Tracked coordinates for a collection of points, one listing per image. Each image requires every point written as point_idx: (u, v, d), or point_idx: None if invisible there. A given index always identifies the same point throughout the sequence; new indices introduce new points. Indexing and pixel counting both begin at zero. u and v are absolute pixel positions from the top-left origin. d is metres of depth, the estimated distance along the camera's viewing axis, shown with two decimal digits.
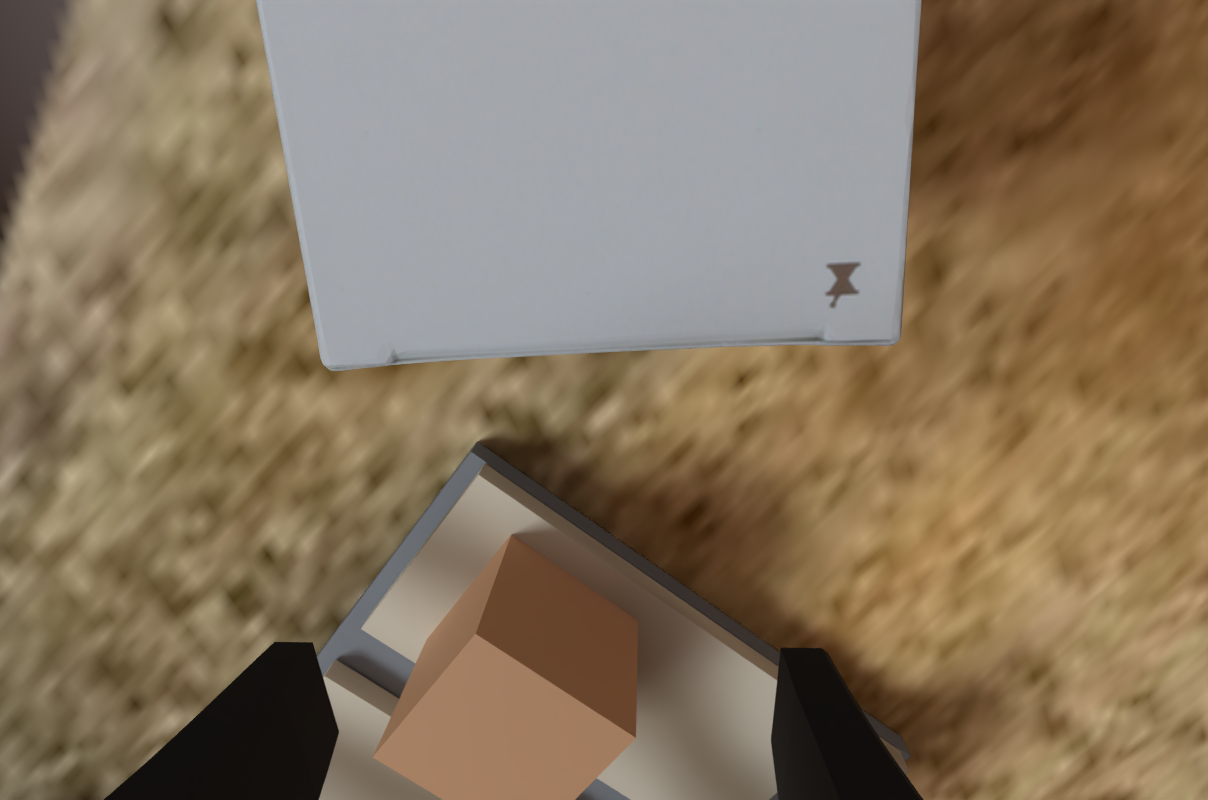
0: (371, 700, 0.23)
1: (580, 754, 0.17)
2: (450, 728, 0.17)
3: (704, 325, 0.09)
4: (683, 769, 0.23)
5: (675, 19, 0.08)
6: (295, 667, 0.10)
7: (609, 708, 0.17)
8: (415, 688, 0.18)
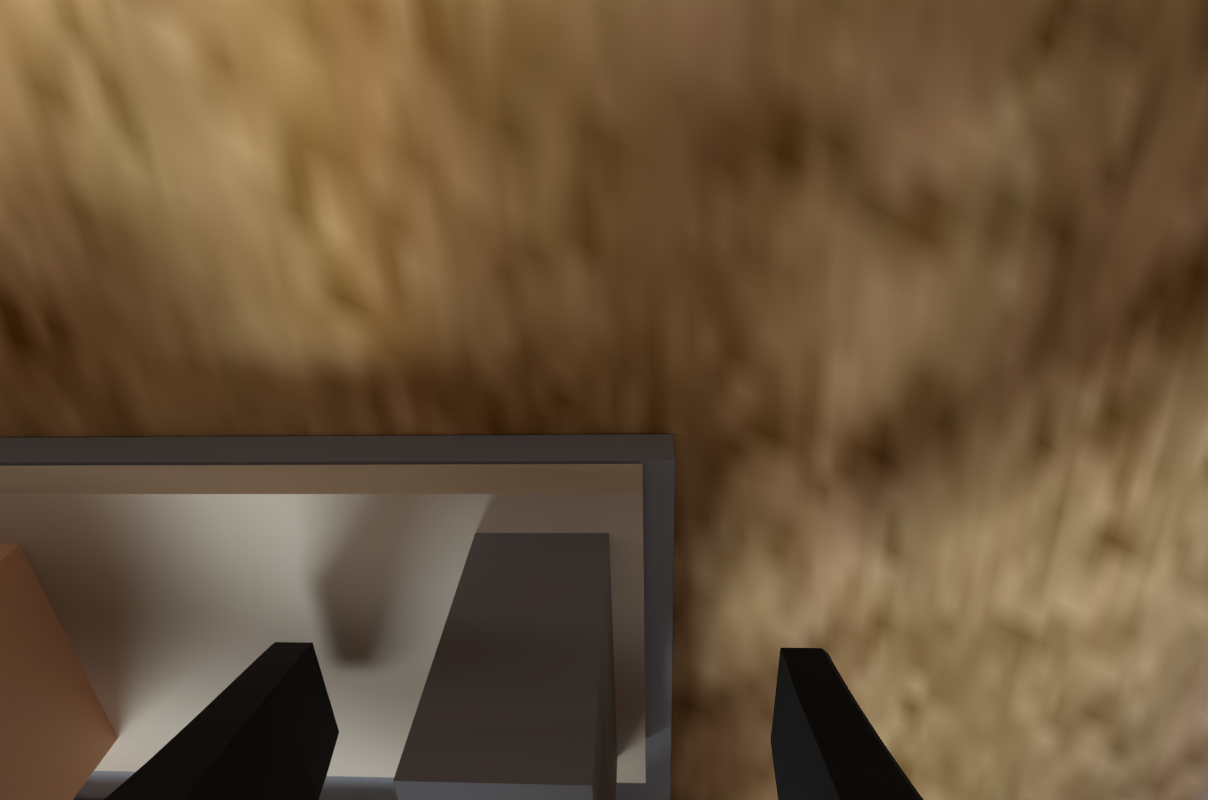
0: None
1: None
2: None
3: None
4: (340, 701, 0.13)
5: None
6: (295, 667, 0.10)
7: None
8: None
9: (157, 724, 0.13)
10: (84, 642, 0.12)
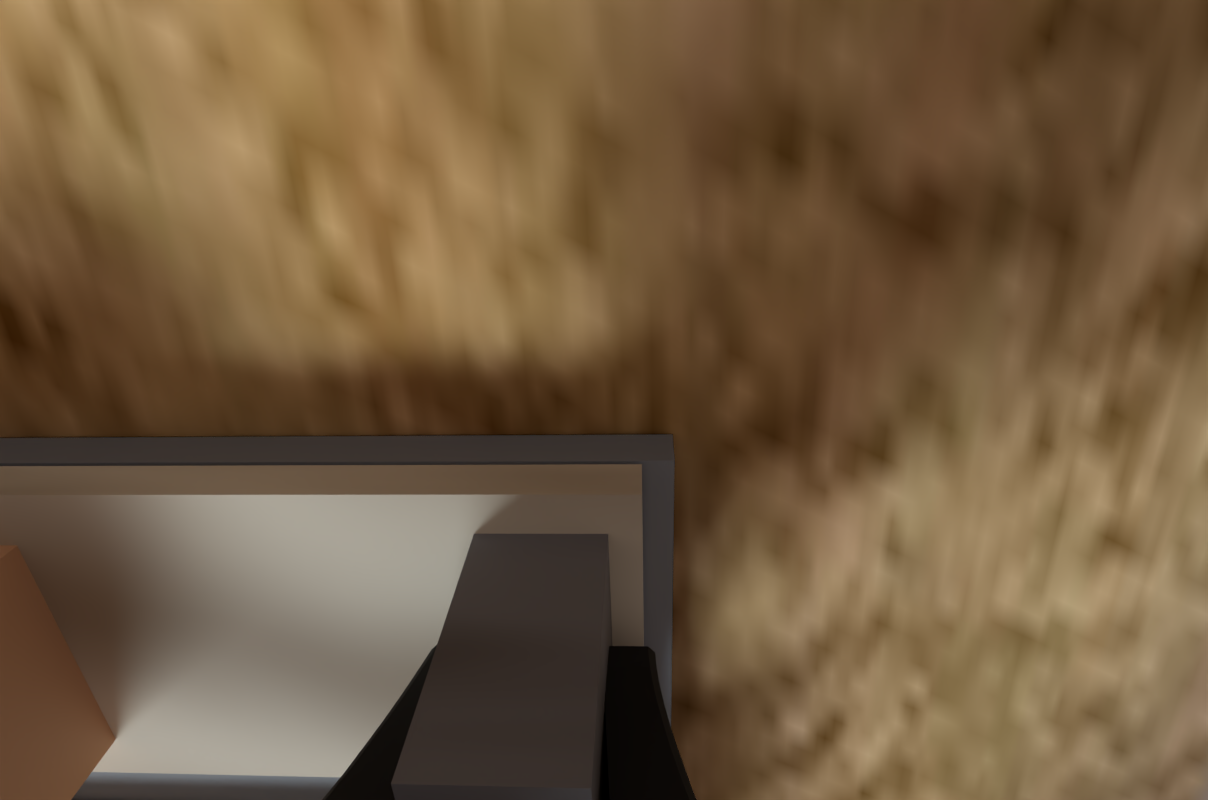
0: None
1: None
2: None
3: None
4: (338, 702, 0.13)
5: None
6: None
7: None
8: None
9: (155, 725, 0.13)
10: (81, 643, 0.12)
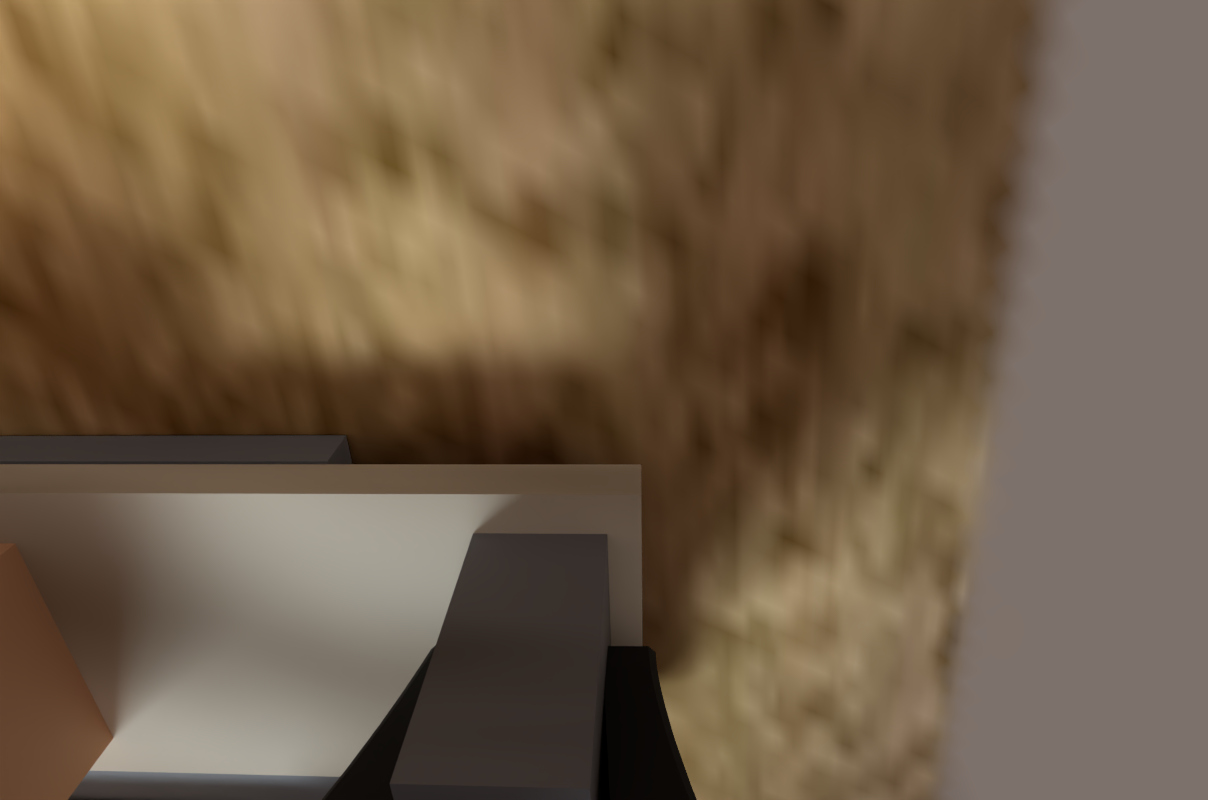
0: None
1: None
2: None
3: None
4: (337, 701, 0.13)
5: None
6: None
7: None
8: None
9: (153, 725, 0.13)
10: (79, 642, 0.12)
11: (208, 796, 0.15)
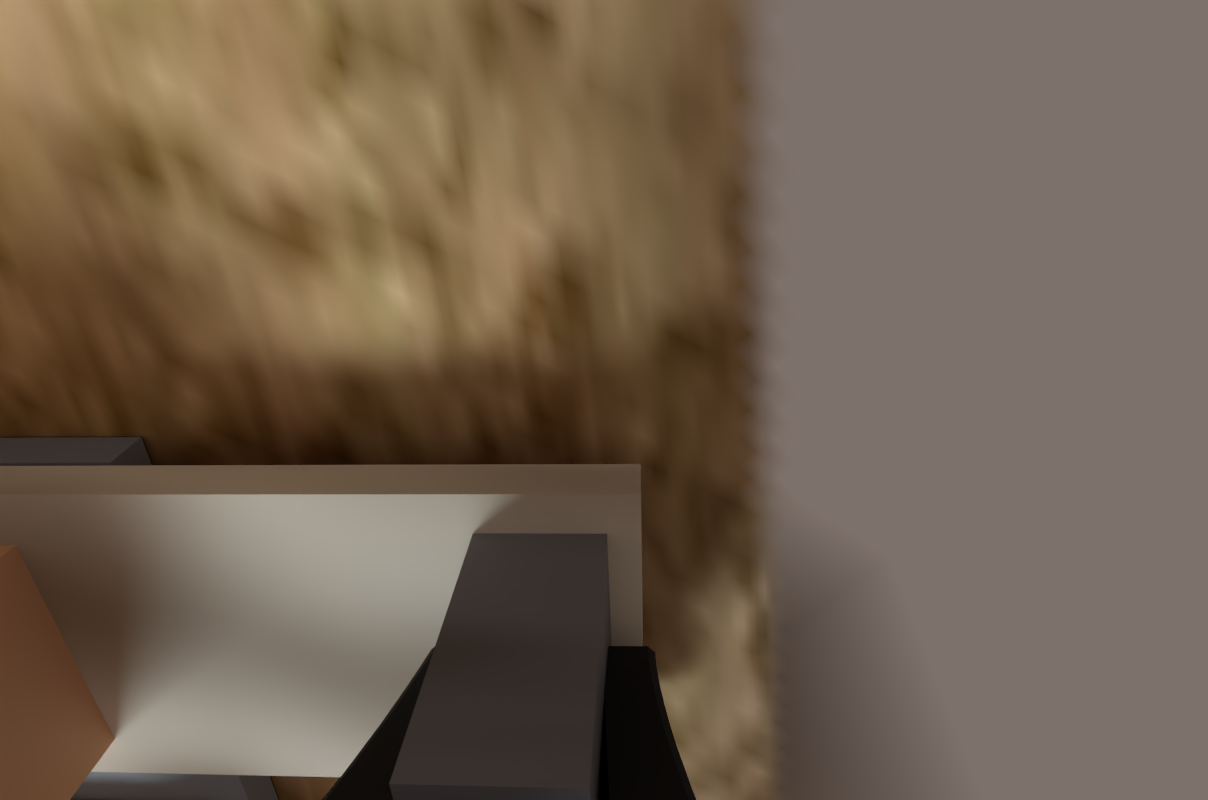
0: None
1: None
2: None
3: None
4: (337, 702, 0.13)
5: None
6: None
7: None
8: None
9: (154, 726, 0.13)
10: (80, 642, 0.12)
11: None
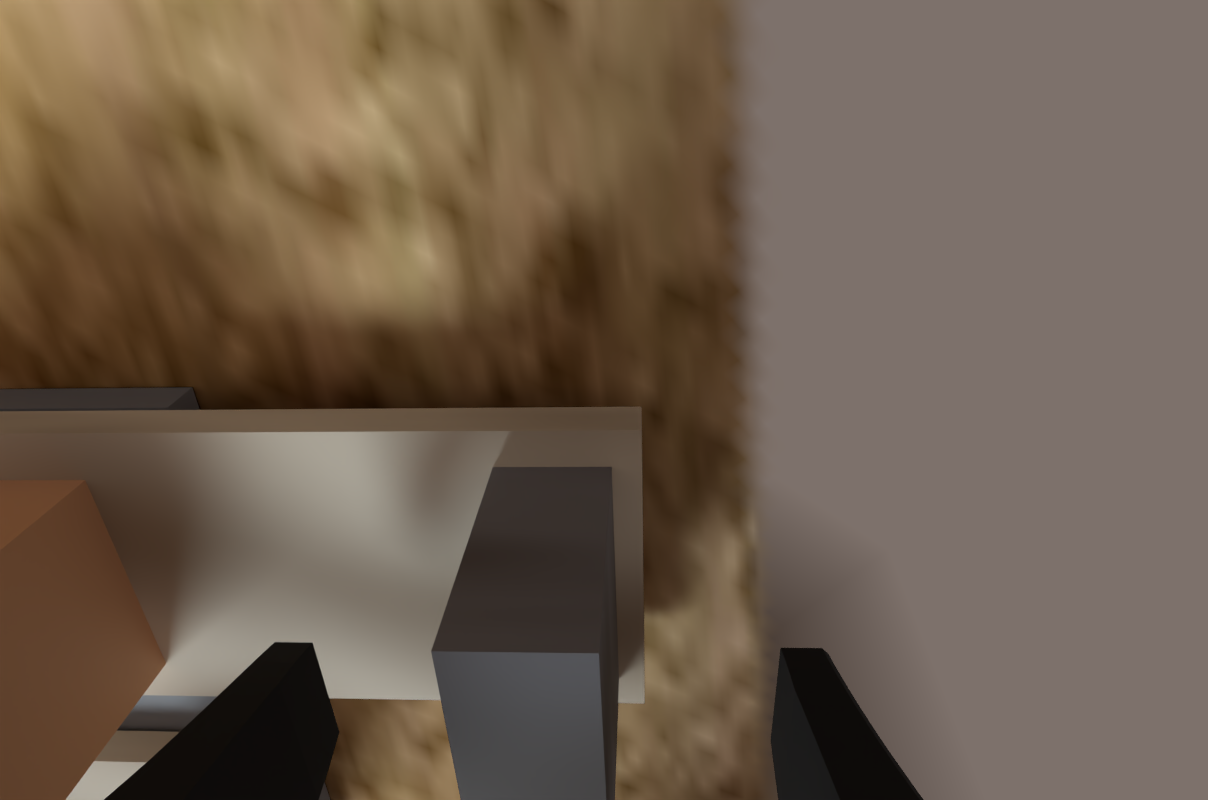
0: None
1: None
2: None
3: None
4: (369, 626, 0.14)
5: None
6: (295, 667, 0.10)
7: None
8: None
9: (202, 651, 0.15)
10: (138, 571, 0.14)
11: None
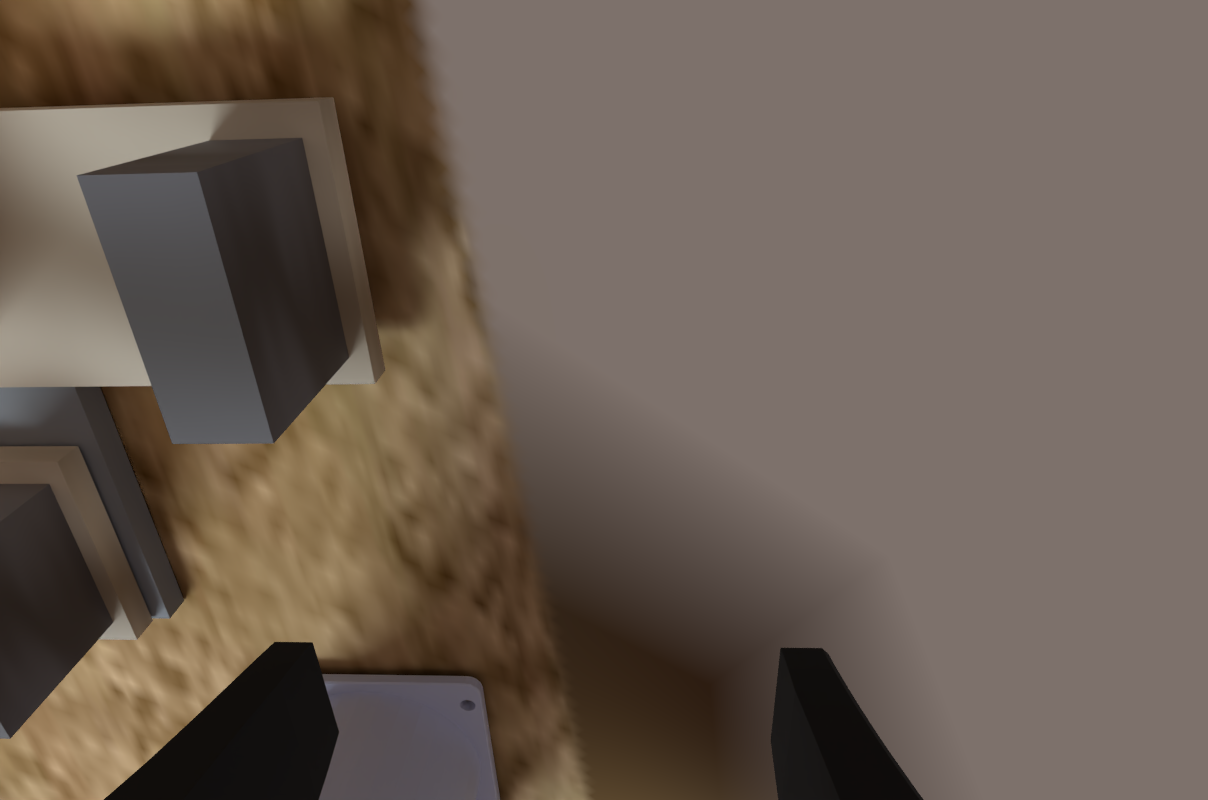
0: None
1: None
2: None
3: None
4: None
5: None
6: (295, 667, 0.10)
7: None
8: None
9: (6, 338, 0.17)
10: None
11: None
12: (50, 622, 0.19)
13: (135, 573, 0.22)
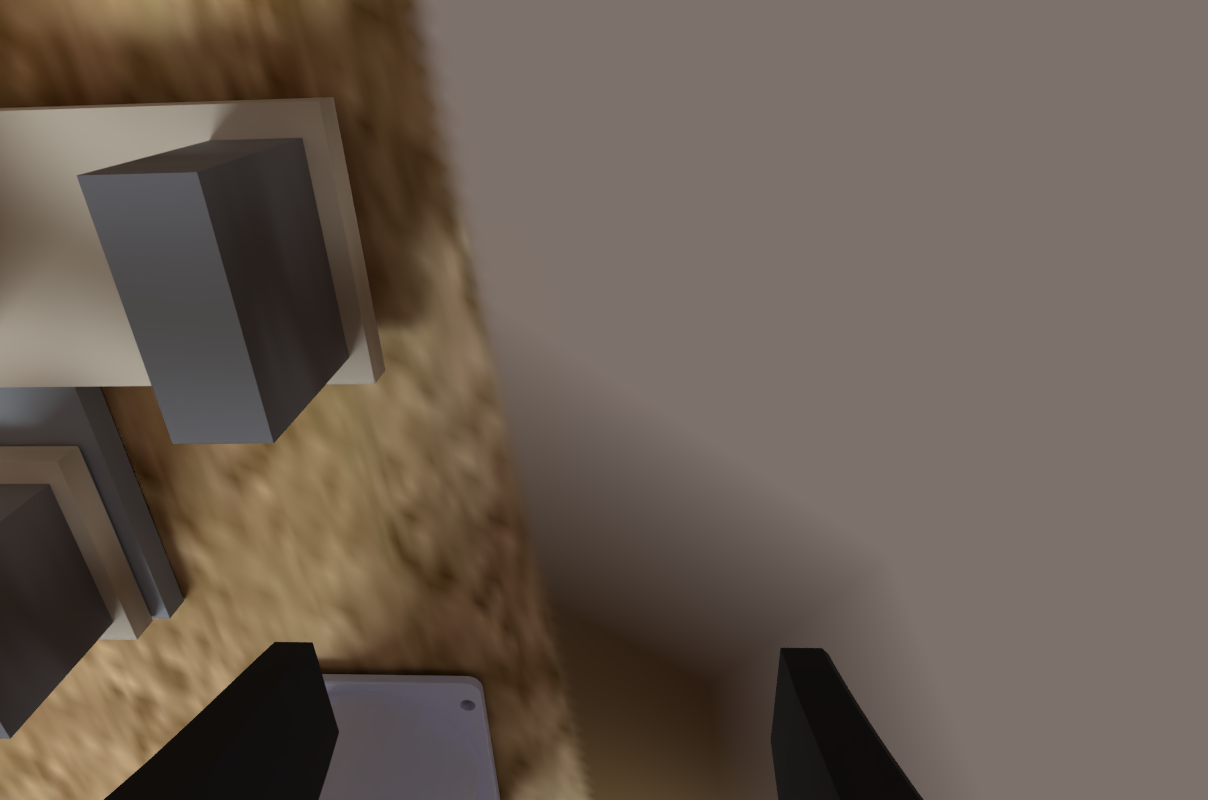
0: None
1: None
2: None
3: None
4: None
5: None
6: (295, 667, 0.10)
7: None
8: None
9: (6, 338, 0.17)
10: None
11: None
12: (50, 622, 0.19)
13: (135, 573, 0.22)
